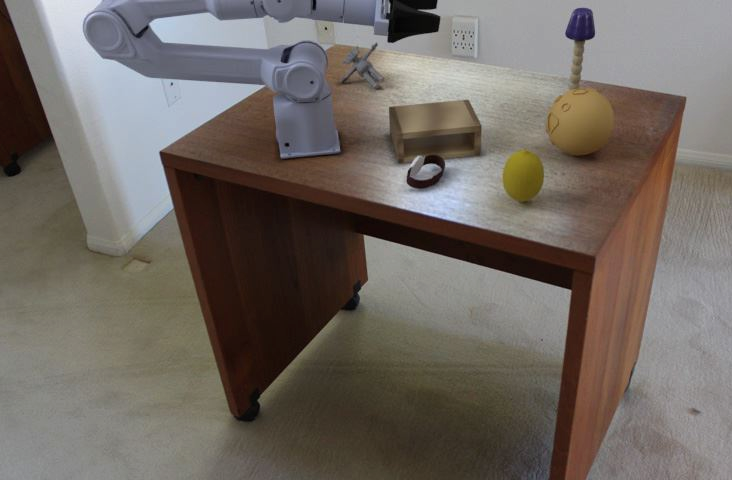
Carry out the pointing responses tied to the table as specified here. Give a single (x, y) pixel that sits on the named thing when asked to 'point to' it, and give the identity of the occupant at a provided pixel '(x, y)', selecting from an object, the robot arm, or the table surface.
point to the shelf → (435, 130)
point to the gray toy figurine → (362, 66)
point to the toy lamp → (579, 40)
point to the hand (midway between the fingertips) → (438, 12)
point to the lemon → (523, 175)
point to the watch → (417, 167)
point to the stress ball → (580, 121)
